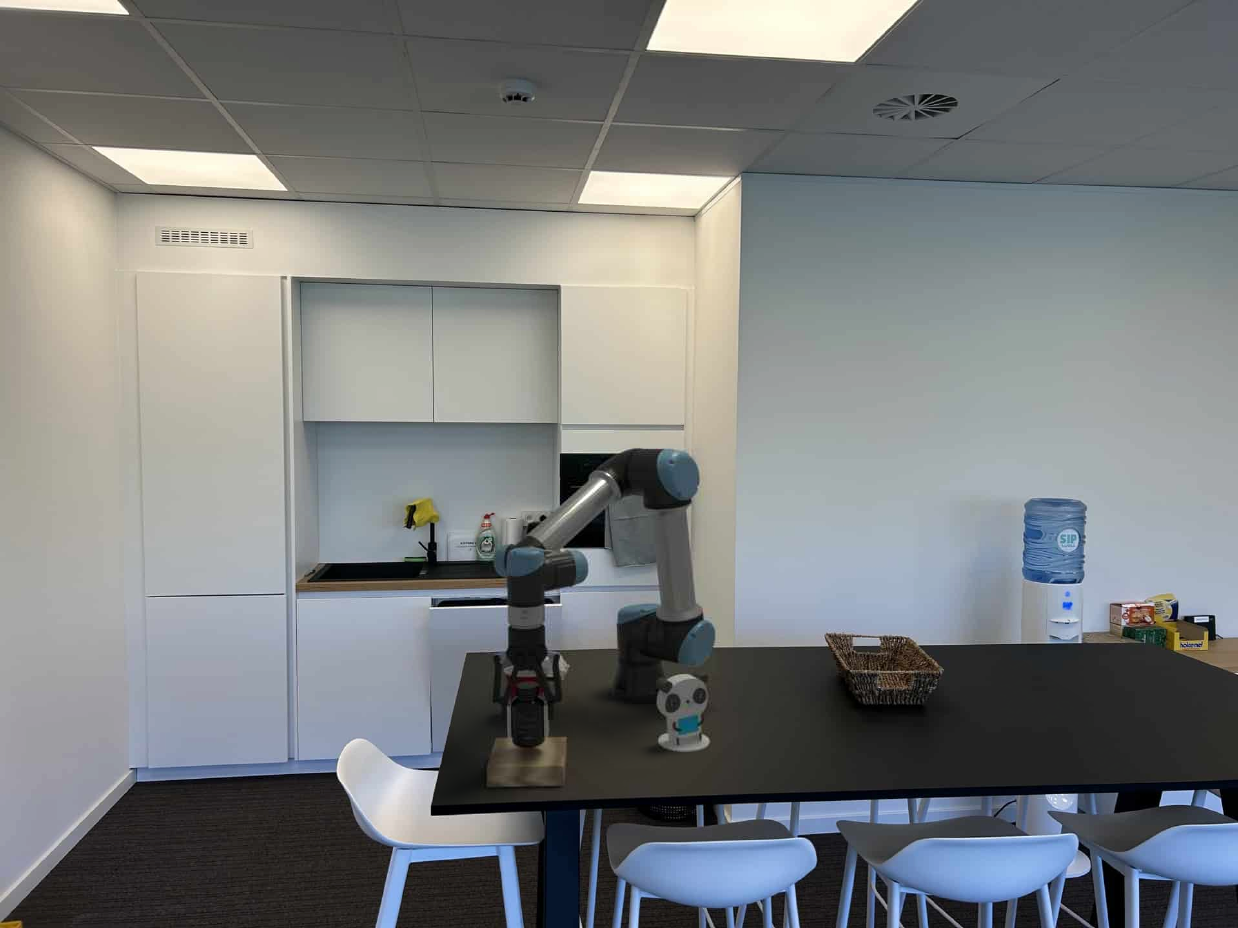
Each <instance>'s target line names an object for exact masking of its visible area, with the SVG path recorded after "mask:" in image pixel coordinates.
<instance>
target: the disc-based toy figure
mask: <svg viewBox="0 0 1238 928" xmlns="http://www.w3.org/2000/svg"><path fill="white" fill-rule="evenodd" d="M708 682H709V676H708V675H707V674H706V673H703V672H701V671H699V670H695V671H693V673H692V674H688V673H681V674H676V675H673V676H671V677H668V678H667V680H666V679H664V678H662V677H660V678H658V679H657V681H656V684H655V686H656V688H657V689H659V693H658V696H657V701H656V707H657V709H658V710H659V712H660V714H662V715H663V716H665V717H666V726H667V733H663V734H661V735H660V736H659V737H658V739H657V740H658V745H659V746H660V747H662V748H663V749H666V750H668V751H673V752H679V753H680V752H681V753H691V752H699V751H701V750H703V749H706V748H707V747H709V746H710V742H711V741H710V738H709V737H708V736H707V735H705V734H703V733H702V725H703V724H704V722H705V719H706V718H705V714H704V712H705V709H706V708H707V705H708V701H709V696H708V695H709V694H708V690H707V687H706V683H708Z"/></svg>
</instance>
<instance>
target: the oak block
mask: <svg viewBox="0 0 1238 928" xmlns="http://www.w3.org/2000/svg"><path fill="white" fill-rule="evenodd" d="M567 754H568V753H567V736H557V737H556V736H548V737H545V741H544V742H543V744H541V745H539V746H537V747H532V748H521V747H517V746H515V745H514V744H513V742H512V737H511V738H508V737H496V738H495V741H494V743H493V746H492V750H491V753H490V756H489V759H488V762H487V766H486V787H487V788H493V787H494V788H500V787H501V788H502V787H503V788H505V787H509V788H510V787H512V788H513V787H515V788H516V787H560V786H561V787H563V786H564V784H565V775H566V766H567V765H566V764H567V757H568V756H567Z"/></svg>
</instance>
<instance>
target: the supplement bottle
mask: <svg viewBox="0 0 1238 928" xmlns="http://www.w3.org/2000/svg"><path fill="white" fill-rule="evenodd" d="M539 694H540V691H539V684H538V683H536V682H522V683H519V684H517V685H516V692H515V695H516V697H515V698H514V699H513V700H512V702H511V701H510V702H511V723H512V737H511V738H512V742H513V744H514V745H515V746H517V747H521V748H532V747H537V746H539V745H541V744H543V742H544V741H545V737H544V703H545V700H544V698H543V696H542V697H541V696H539Z"/></svg>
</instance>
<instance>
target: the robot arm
mask: <svg viewBox="0 0 1238 928" xmlns="http://www.w3.org/2000/svg"><path fill="white" fill-rule="evenodd" d="M700 479H701V476H700V470H699V467H698V464H697V463H696V460H695V459H694V458H693V457H692V456H691V455H690V454H689V452H686V451H684V450H680V449H679V450H678V449H674V448H643V447H641V448H640V447H639V448H638V447H637V448H636V447H633V448H630V449H626V450H624V451H621V452H619V453H617V454H615V455H613V456H612V457H610V458H609V459H607V460H606V461H604V462H603V463H602V464H600V465H599V466H598V467H597V468H595V469H593V471H592V472H591V473H590V474H589V476H588V481H586V483H585V484H583V485H582V486H581V487H580V488H578V490H577V491H575V492H574V493H573V494H572V495H570V497H568V499H566V500H565V501H564V502H563V503H562V504H561V505H559V506H558V507H557V508H556V509H554V511H552V513H550V514H549V515H548V516H547V517H546V518H545V519H544V520H542V521H541V522H540V523H539V524H538V525H537V526H536V527H534V528H533V529H532V530H531V531H530V532H529V533H527V534H526V535H525V536H524V537H523V538H522V539H521V540H520V541H518V542H517V543H516V544H514V543H509V544H507V543H506V544H504V545H501V546H500V547H498V549H496V551H495V553H494V556H493V567H494V570H495V572H496V573H497V574H498V576H501V577H502V578H506V591H507V592H506V593H507V624H508V625H509V626H508V627H507V640H508V641H507V648H506V651H502V652H499V651H496V652H495V653H494V655H493V657H492V661H493V664H494V668H495V669H494V675H493V676H494V677H493V679H494V680H493V689H492V690H493V691H492V702H493V704H499V705H500V706H501V720H502V721H503V722H505V721H507V722H506V724H507V725H506V727H507V728H506V731H507V733H506V734H507V735H506V736H507V738H512V723H511V701H509V700H510V694H511V691H512V689H513V686H514V683H515V680H516V677H517V674H518V671H524V670H529V671H535V674H536V675H537V678H538V680H539V683H540V685H541V688H542V691H543V695H544V696H543V697H544V698H545V700H546V701H544V737H549V734H550V721H553V720H554V718H555V704H556V703H561V702H562V700H563V688H562V680H561V679H562V677H560V670H559V659H560V655H561V652H560V651H558V650H557V651H552V650H551V651H550V650H549V649H548V647H547V645H546V625H545V624H544V623H545V622H546V604H545V603H546V599H545V598H546V592H551V591H555V590H560V589H565V588H572V587H574V586H577V585H580V584H582V583H583V582H584V581H585V580H586V579H587V577H588V575H589V563H588V559H587V557H586V556H585V554H583V552H581V551H580V550H577V549H570V550H569V549H565V550H564V551H560V550H561V549H562V548H564V546H566V545H567V544H568V543H569V542H570V541H571V540H572V539H573V538H574V537H576V535H578V534H579V533H580V532H581V531H582V530H583V529H584V528H585V527H586V526H587V525H588V524H590V522H591V521H593V520H594V519H595V518H596V517H597V516H598V515H599V514H601V513H602V512H603V511H604V510H605V509H606V508H607V507H609V505H616V504H617V503H619V502H620V501H621V500H622V499H624V498H626V497H631V496H637V497H642V505H643V508H644V509H645V510H646V511H648V513H650V518H651V527H652V535H653V543H654V544H653V545H654V553H655V562H656V563H655V564H656V571H657V572H656V573H657V580H658V587H659V589H658V591H659V597H660V599H659V600H660V603H655V602H654V603H637V604H632V605H627V606H624V607H622V608H620V609H619V610H618V612H617V620H616V621H617V622H616V643H617V644H616V645H617V649H616V650H617V665H616V668H615V671H614V675H613V677H612V681H611V685H610V694H611V696H612V697H613V698H615V699H616V700H619V701H622V702H627V703H634V704H636V703H637V704H640V703H641V704H643V703H644V704H645V703H653V702H657V696H658V693H659V689H657V688H656V686H655V684H656V681H657V679H658V678H660V677H662V678H664V679H666V680H667V679H668V678H667V674H666V671H665V668H664V664H663V661H664V662H667V663H673V664H675V665H676V664H677V665H679V666H681V667H690V668H691V667H692V668H696V667H699V666H701V665H703V664H704V663H705V662H706V661H707V660H708V658H709V657H710V655H711V653H712V652H713V650H714V645H715V642H716V629H715V626H714V625H713V623H712V622H710V621H709V620H707V619H705V617H704V610H703V607H702V606H701V605H699V604H698V603H697V601H696V600H697V599H696V589H695V582H694V581H695V580H694V572H693V561H692V552H691V543H690V533H689V524H688V514H687V509H689V507H690V506H691V505H692V503H693V501H692V500H693V499H692V498H694V497H695V496H696V495H697V492H698V490H699V487H700ZM698 486H699V487H698ZM546 657H548V658H549V661H550V663H553V664H552V670H553V677H552V678H553V684H554V685H553V686H554V693H555V694H553V692H552V689H551V688H550V685H549V682H548V679H547V676H545V674H544V671H543V667H542V665H541V664H542V662H543V661H544V659H545V658H546ZM506 658H507V659H508V661H509V662H510V663H511V664H512V666H514V668H513V670H512V673H511V676H510V679H509V682H508V683H507V686H506V688H505V691H504V694H503V695H501V687H502V684H501V683H502V674H503V665H504V664H505V661H506Z"/></svg>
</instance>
